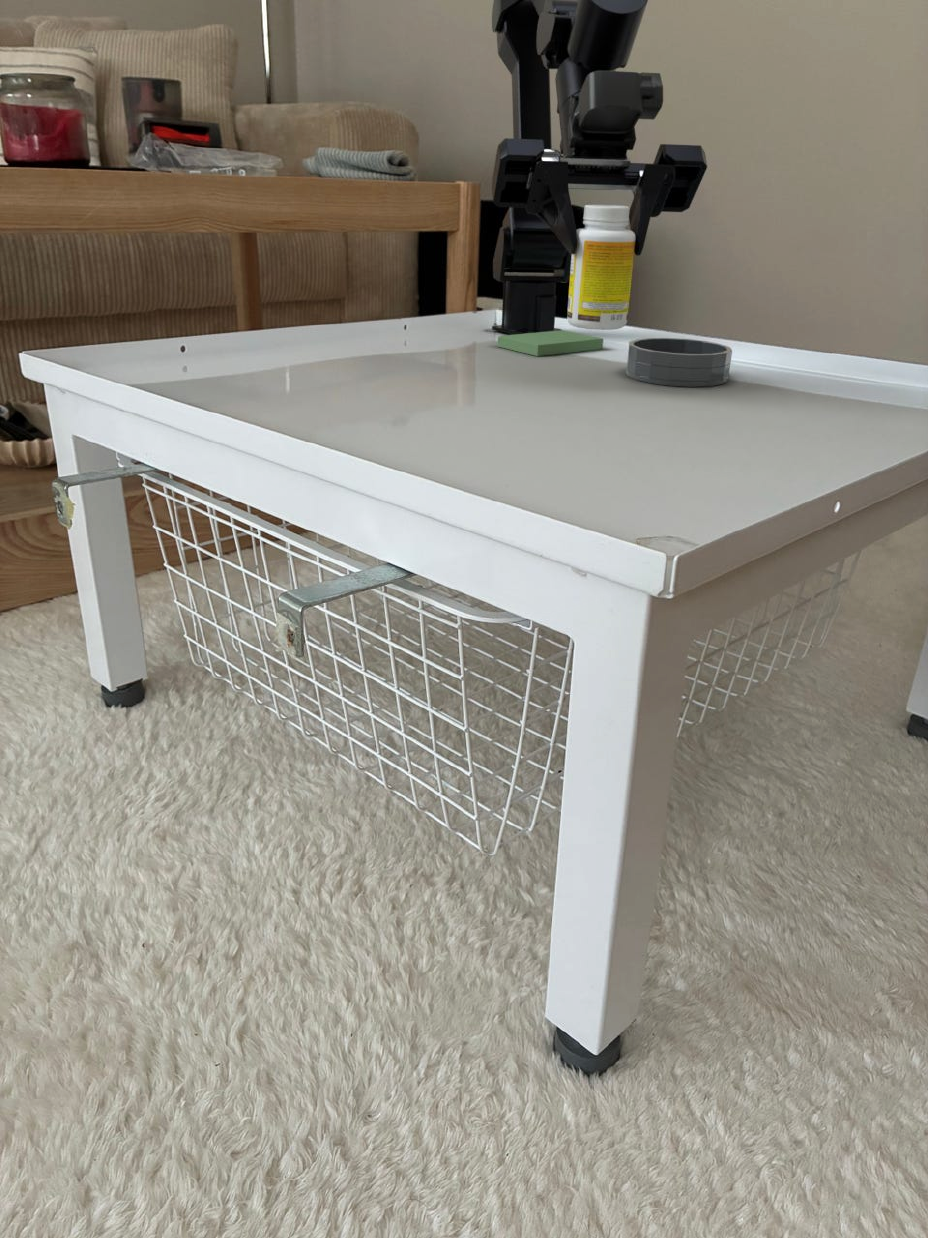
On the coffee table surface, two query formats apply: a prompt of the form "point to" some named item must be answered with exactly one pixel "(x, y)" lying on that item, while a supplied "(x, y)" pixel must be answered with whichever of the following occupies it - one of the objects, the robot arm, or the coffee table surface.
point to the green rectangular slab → (550, 342)
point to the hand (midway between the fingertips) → (606, 251)
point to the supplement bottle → (601, 269)
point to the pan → (678, 362)
